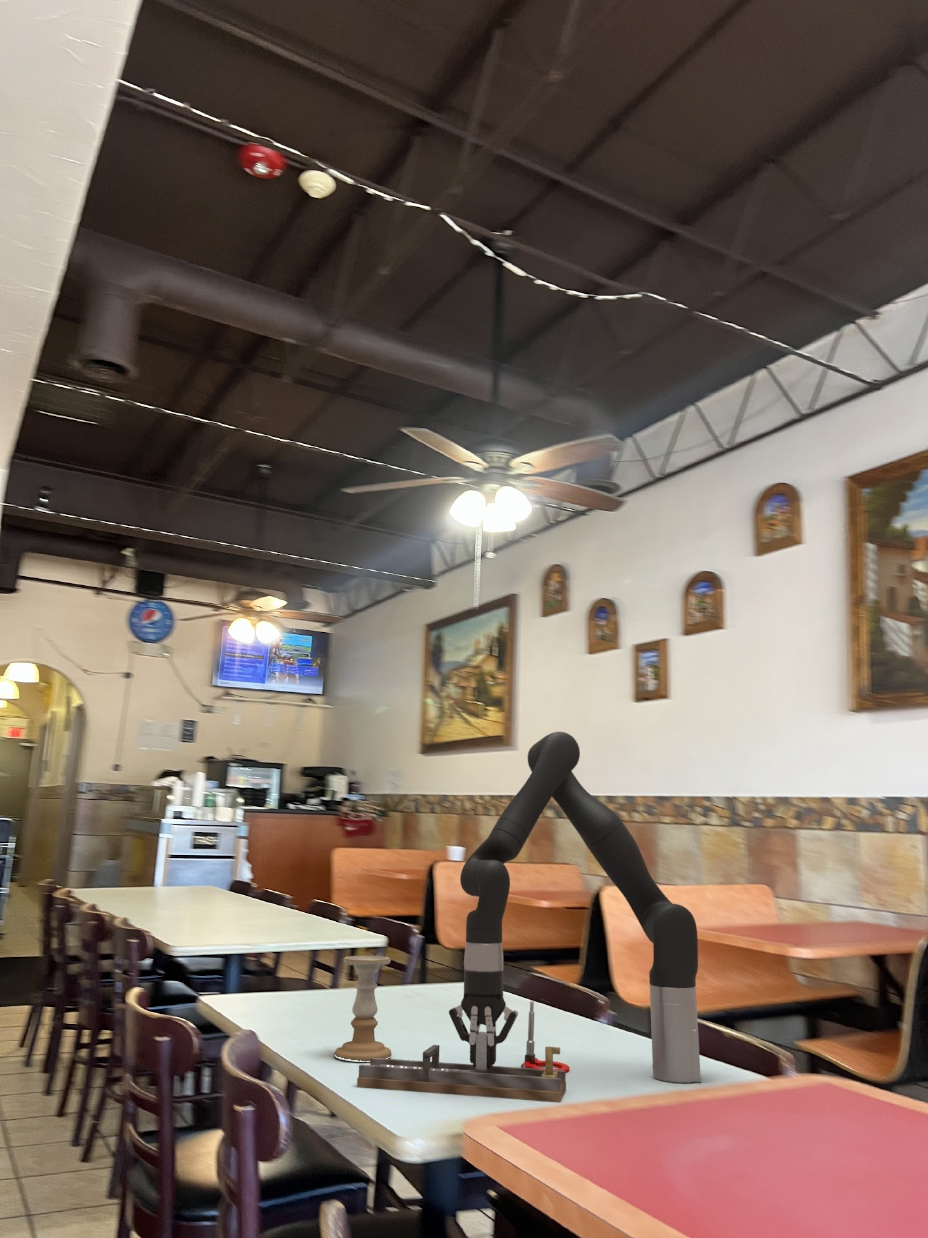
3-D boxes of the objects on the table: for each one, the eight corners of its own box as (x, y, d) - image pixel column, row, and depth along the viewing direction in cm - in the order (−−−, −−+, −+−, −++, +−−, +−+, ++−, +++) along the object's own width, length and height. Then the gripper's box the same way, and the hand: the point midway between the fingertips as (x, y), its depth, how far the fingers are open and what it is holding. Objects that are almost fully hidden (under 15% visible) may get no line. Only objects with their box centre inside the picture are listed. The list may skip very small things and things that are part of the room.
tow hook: (574, 1071, 185) (533, 1064, 189) (576, 1004, 188) (535, 998, 192) (561, 1079, 177) (518, 1071, 181) (563, 1009, 181) (521, 1003, 184)
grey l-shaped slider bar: (489, 1079, 167) (489, 1032, 169) (486, 1082, 164) (486, 1035, 166) (380, 1071, 171) (382, 1026, 174) (375, 1074, 169) (377, 1028, 171)
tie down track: (566, 1090, 166) (565, 1043, 168) (560, 1102, 157) (559, 1053, 160) (372, 1076, 174) (374, 1032, 176) (356, 1087, 166) (358, 1040, 168)
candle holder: (402, 1056, 194) (406, 958, 199) (366, 1066, 184) (370, 961, 189) (359, 1049, 200) (364, 954, 206) (322, 1058, 191) (327, 958, 196)
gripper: (522, 967, 173) (522, 1065, 168) (453, 964, 176) (451, 1060, 171) (515, 971, 166) (515, 1073, 161) (444, 968, 169) (441, 1068, 164)
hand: (482, 1066), depth 166 cm, fingers closed on grey l-shaped slider bar, 2 cm apart
